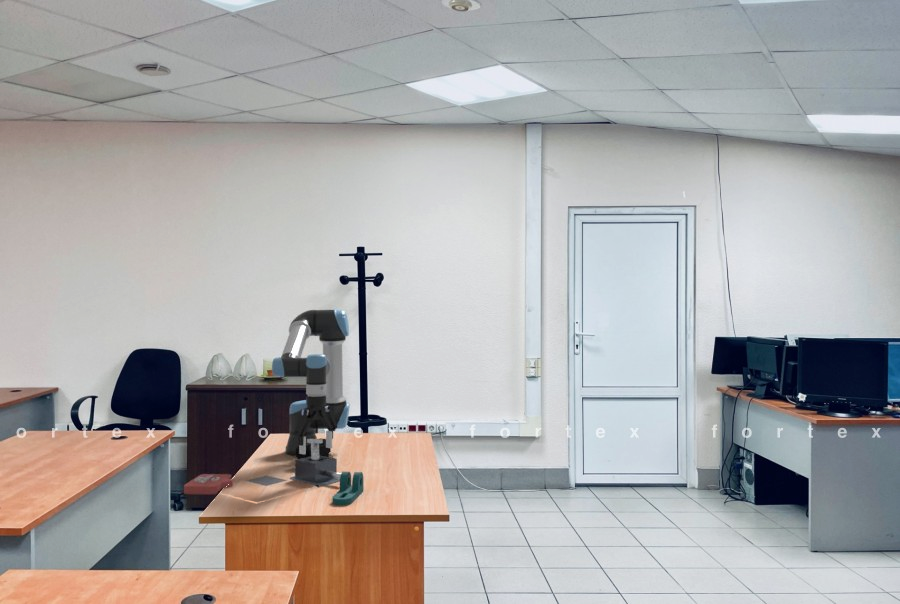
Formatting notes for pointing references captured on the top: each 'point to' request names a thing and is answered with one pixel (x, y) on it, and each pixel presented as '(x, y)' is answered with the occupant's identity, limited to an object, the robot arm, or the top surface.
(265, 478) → the mat
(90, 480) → the top surface
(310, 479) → the hollow square block
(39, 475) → the top surface
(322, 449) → the security camera
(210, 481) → the plaque
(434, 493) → the top surface
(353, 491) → the bracket
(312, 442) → the silver grey long piece
